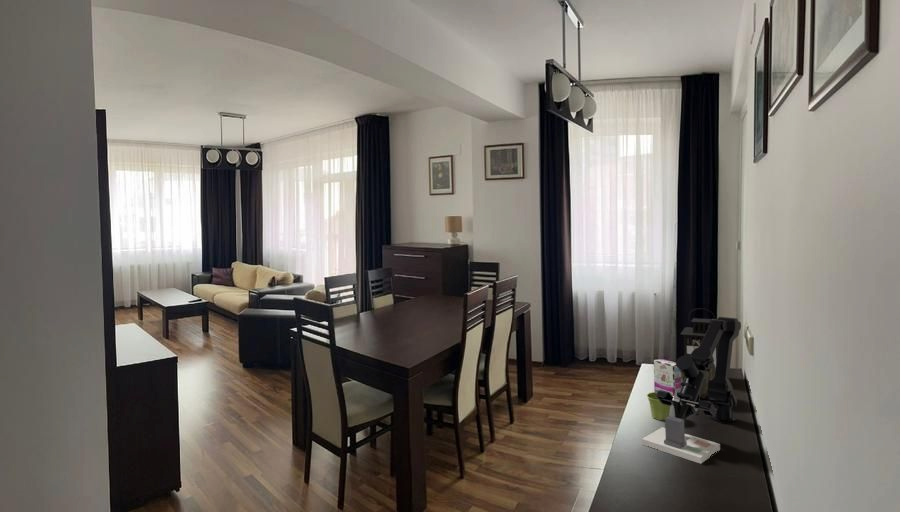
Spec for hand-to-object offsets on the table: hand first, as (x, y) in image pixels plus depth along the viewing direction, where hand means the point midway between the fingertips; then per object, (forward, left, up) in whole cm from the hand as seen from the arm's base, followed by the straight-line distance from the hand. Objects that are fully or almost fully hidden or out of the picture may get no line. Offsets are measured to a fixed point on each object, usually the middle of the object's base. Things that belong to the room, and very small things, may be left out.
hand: (677, 424), depth 167 cm
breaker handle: (+2, +1, -6) cm, 6 cm away
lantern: (-60, -57, -8) cm, 83 cm away
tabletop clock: (-40, -37, -8) cm, 55 cm away
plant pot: (-12, -25, -8) cm, 29 cm away
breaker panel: (-1, -1, -8) cm, 8 cm away
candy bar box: (-28, -41, -8) cm, 50 cm away
